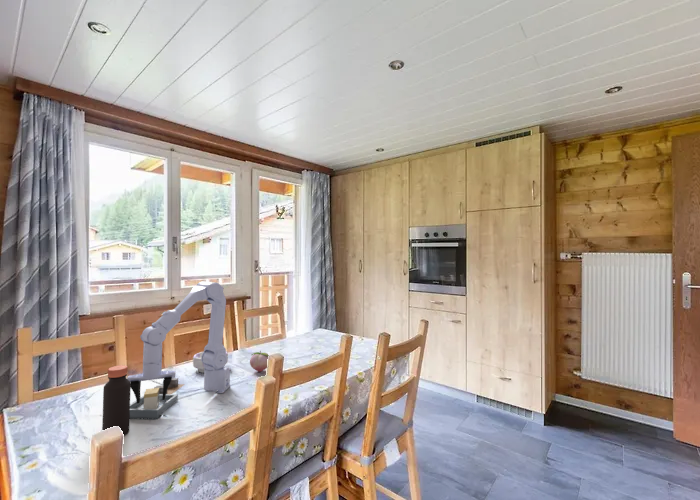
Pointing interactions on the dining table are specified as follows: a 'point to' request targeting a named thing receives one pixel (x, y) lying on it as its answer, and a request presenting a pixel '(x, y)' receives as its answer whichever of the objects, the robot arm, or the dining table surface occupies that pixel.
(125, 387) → the bottle
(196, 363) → the white bowl
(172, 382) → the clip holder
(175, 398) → the tray
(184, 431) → the dining table surface
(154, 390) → the white and tan block
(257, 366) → the decorative fruit
